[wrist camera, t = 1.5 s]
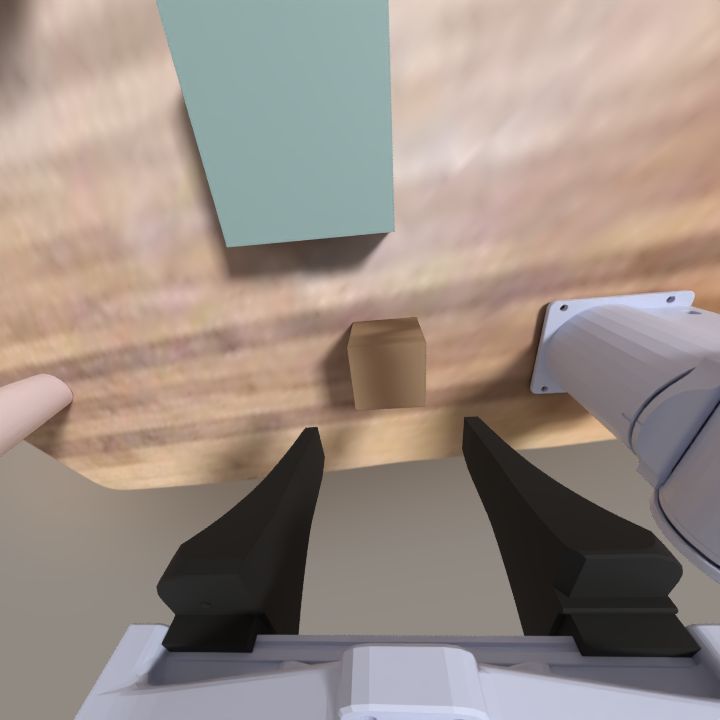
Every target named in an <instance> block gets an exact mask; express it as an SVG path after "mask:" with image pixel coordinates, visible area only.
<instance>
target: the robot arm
mask: <svg viewBox="0 0 720 720" xmlns="http://www.w3.org/2000/svg"><path fill="white" fill-rule="evenodd" d="M694 296H695V294H694V292H692V291H688V290H680V291H668V292H656V293H644V294H631V295H619V296H607V297H595V298H583V299H570V300H558V301H553V302H551V303H550V304H549V305H548V306H547V310H546V314H545V319H544V324H543V328H542V333H541V338H540V343H539V347H538V352H537V357H536V362H535V366H534V371H533V376H532V380H531V385H530V390H531V391H532V392H533V393H534V394H545V393H565V392H567V393H569V394H570V395H571V396H572V397H573V398H574V399H575V400H576V401H577V402H578V403H579V404H581V405H582V406H583V407H584V408H585V409H586V410H587V411H588V412H589V413H590V414H591V415H592V416H594V417H595V418H596V419H597V420H598V421H599V422H600V423H601V424H602V425H603V426H604V427H606V428H607V429H608V430H609V431H610V432H611V433H612V434H613V435H614V436H615V437H616V438H617V439H619V440H620V441H621V442H622V443H623V444H624V445H625V446H626V447H627V448H628V449H629V450H631V451H632V452H633V453H634V454H635V455H636V456H637V457H638V459H639V466H638V468H637V472H638V473H639V474H640V475H642V477H643V478H644V479H645V480H646V481H647V482H649V484H650V485H651V486H652V487H653V488H654V489H655V490H654V491H653V492H652V494H651V497H650V510H651V513H652V516H653V518H654V520H655V522H656V524H657V526H658V527H659V528H660V530H661V531H662V533H663V534H664V535H665V536H666V538H667V539H668V540H669V541H670V542H671V543H672V544H673V546H674V547H675V548H676V549H677V550H678V551H679V552H680V553H682V554H683V555H684V556H685V557H686V558H687V559H688V560H689V561H690V562H691V563H693V564H694V565H695V566H696V567H697V568H699V569H700V570H701V571H702V572H704V573H705V574H706V575H708V576H709V577H710V578H712V579H713V580H715V581H716V582H717V583H719V584H720V314H717V313H713V312H710V311H706V310H703V309H699V308H695V307H692V306H691V304H692V301H693V299H694ZM669 297H670V298H669ZM668 298H669V300H668V301H667V299H668ZM563 305H565V307H564V308H563V309H562V310H560V308H561V306H563ZM542 387H545V388H543V389H542ZM462 450H463V454H464V457H465V461H466V464H467V467H468V470H469V472H470V475H471V477H472V480H473V482H474V484H475V487H476V489H477V491H478V493H479V496H480V498H481V501H482V503H483V505H484V508H485V510H486V512H487V514H488V517H489V520H490V522H491V525H492V528H493V531H494V534H495V537H496V540H497V543H498V546H499V549H500V552H501V556H502V559H503V562H504V565H505V569H506V572H507V575H508V579H509V582H510V586H511V589H512V593H513V596H514V600H515V603H516V607H517V610H518V614H519V618H520V621H521V625H522V629H523V633H524V636H422V635H421V636H420V635H419V636H418V635H416V636H415V635H414V636H413V635H402V636H401V635H399V636H398V635H298V634H299V621H300V610H301V601H302V591H303V582H304V573H305V565H306V557H307V549H308V542H309V535H310V529H311V524H312V519H313V515H314V510H315V506H316V502H317V498H318V494H319V489H320V485H321V481H322V476H323V468H324V458H325V456H324V452H323V448H322V444H321V440H320V435H319V431H318V427H310V428H305V429H304V430H303V432H302V433H301V434H300V436H299V437H298V438H297V440H296V441H295V443H294V444H293V445H292V446H291V448H290V449H289V450H288V452H287V453H286V454H285V455H284V457H283V458H282V459H281V460H280V462H279V463H278V464H277V465H276V466H275V467H274V469H273V470H272V471H271V472H270V473H269V474H268V475H267V476H266V478H265V479H264V480H263V481H262V482H261V483H260V484H259V485H258V486H257V487H256V488H255V489H254V490H253V491H252V492H251V493H250V494H248V495H247V496H246V497H245V498H244V499H243V500H241V501H240V502H239V503H238V504H237V505H236V506H235V507H234V508H232V509H231V510H230V511H228V512H227V513H226V514H225V515H223V516H222V517H221V518H219V519H218V520H217V521H215V522H214V523H213V524H211V525H210V526H208V527H207V528H206V529H205V530H203V531H201V532H200V533H198V534H197V535H195V536H194V537H192V538H191V539H189V540H188V541H186V542H185V543H183V544H181V546H180V547H179V549H178V550H177V552H176V554H175V555H174V557H173V558H172V560H171V562H170V564H169V565H168V567H167V569H166V571H165V572H164V574H163V576H162V577H161V579H160V581H159V583H158V585H157V592H158V595H159V597H160V598H161V599H162V600H163V602H165V604H166V605H167V606H168V607H169V608H170V609H171V610H172V611H173V612H174V613H175V617H174V620H173V622H172V624H171V626H168V625H166V624H161V623H133V624H131V625H130V626H129V628H128V629H127V631H126V633H125V635H124V636H123V638H122V640H121V641H120V643H119V644H118V646H117V648H116V649H115V651H114V653H113V655H112V656H111V658H110V660H109V661H108V663H107V665H106V666H105V668H104V670H103V671H102V673H101V675H100V676H99V678H98V680H97V681H96V683H95V685H94V686H93V688H92V690H91V691H90V693H89V695H88V696H87V698H86V700H85V701H84V703H83V705H82V707H81V708H80V710H79V711H78V713H77V715H76V717H75V718H74V720H720V624H692V625H689V626H686V627H684V625H683V624H682V623H681V622H680V620H679V619H678V618H677V617H676V615H675V614H677V613H678V609H677V607H676V606H675V604H674V603H673V602H672V601H671V599H670V598H669V597H668V594H669V593H670V592H671V591H672V589H673V588H674V587H675V586H676V584H677V583H678V582H679V580H680V578H681V577H682V574H683V569H682V565H681V564H680V563H679V562H678V560H677V559H676V558H675V557H674V556H673V555H672V553H671V552H670V551H669V550H668V549H667V548H666V547H665V545H664V544H663V543H662V542H661V541H660V540H659V539H658V538H657V537H656V536H655V535H654V534H653V533H652V532H651V531H649V530H647V529H645V528H642V527H641V526H638V525H636V524H634V523H632V522H630V521H628V520H626V519H623V518H621V517H619V516H617V515H615V514H613V513H611V512H609V511H607V510H605V509H603V508H601V507H600V506H598V505H596V504H594V503H592V502H590V501H589V500H587V499H585V498H583V497H581V496H580V495H578V494H576V493H575V492H573V491H571V490H570V489H568V488H566V487H565V486H563V485H562V484H560V483H558V482H557V481H555V480H554V479H552V478H551V477H549V476H548V475H546V474H545V473H543V472H542V471H541V470H539V469H538V468H536V467H535V466H533V465H532V464H531V463H530V462H528V461H527V460H526V459H525V458H523V457H522V456H521V455H520V454H518V453H517V452H516V451H515V450H514V449H513V448H511V447H510V446H509V445H508V444H507V443H506V442H504V441H503V440H502V439H501V438H500V437H499V436H498V435H497V434H496V433H495V432H494V431H492V430H491V429H490V428H489V427H488V426H487V425H486V424H485V423H484V422H483V421H482V420H481V419H480V418H479V417H478V416H477V417H464V430H463V444H462Z"/></svg>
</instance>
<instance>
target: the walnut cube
mask: <svg viewBox="0 0 720 720" xmlns="http://www.w3.org/2000/svg"><path fill="white" fill-rule="evenodd" d="M347 351H348V358H349V365H350V373H351V380H352V387H353V394H354V401H355V409H356V410H371V409H392V408H412V407H426V341H425V338H424V336H423V333H422V331H421V328H420V325H419V323H418V320H417V318H416V317H411V318H399V319H386V320H374V321H362V322H353V325H352V329H351V334H350V338H349V342H348V346H347Z"/></svg>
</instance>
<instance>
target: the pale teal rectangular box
mask: <svg viewBox="0 0 720 720" xmlns="http://www.w3.org/2000/svg"><path fill="white" fill-rule="evenodd" d="M156 3H157V7H158V10H159V13H160V17H161V20H162V24H163V27H164V31H165V34H166V38H167V41H168V45H169V48H170V52H171V55H172V59H173V62H174V66H175V69H176V72H177V76H178V79H179V83H180V86H181V90H182V93H183V97H184V100H185V104H186V107H187V111H188V114H189V118H190V121H191V124H192V128H193V131H194V135H195V138H196V142H197V145H198V149H199V152H200V156H201V159H202V163H203V166H204V170H205V173H206V176H207V180H208V183H209V187H210V190H211V194H212V197H213V201H214V204H215V208H216V211H217V215H218V218H219V222H220V225H221V228H222V232H223V235H224V239H225V242H226V246H227V247H237V246H248V245H258V244H269V243H280V242H290V241H301V240H312V239H322V238H333V237H344V236H354V235H365V234H376V233H386V232H395V228H394V191H393V154H392V117H391V80H390V43H389V6H388V0H156Z"/></svg>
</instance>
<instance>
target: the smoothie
mask: <svg viewBox="0 0 720 720" xmlns="http://www.w3.org/2000/svg"><path fill="white" fill-rule="evenodd" d="M72 400H73V394H72V392H71V390H70V389H69V387H68V386H67V385H66V384H65V383H64V382H62V381H61V380H60V379H58V378H56V377H54V376H52V375H48V374H38V375H35V376H32V377H29V378H26V379H23V380H20V381H17V382H14V383H11V384H9V385H6V386H3V387H0V457H1V456H2V455H3V454H5V453H6V452H7V451H8V450H10V449H11V448H12V447H14V446H15V445H16V444H18V443H19V442H20V441H22V440H23V439H24V438H26V437H27V436H28V435H29V434H31V433H32V432H33V431H35V430H36V429H37V428H39V427H40V426H41V425H42V424H44V423H45V422H46V421H48V420H49V419H50V418H52V417H53V416H54V415H55V414H57V413H58V412H59V411H61V410H62V409H63V408H65V407H66V406H67V405H68V404H70V403H71V402H72Z"/></svg>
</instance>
